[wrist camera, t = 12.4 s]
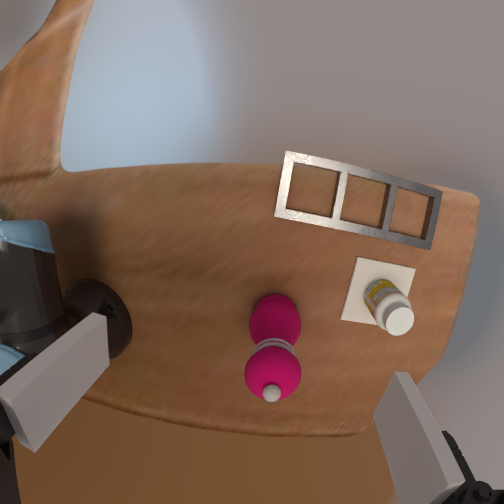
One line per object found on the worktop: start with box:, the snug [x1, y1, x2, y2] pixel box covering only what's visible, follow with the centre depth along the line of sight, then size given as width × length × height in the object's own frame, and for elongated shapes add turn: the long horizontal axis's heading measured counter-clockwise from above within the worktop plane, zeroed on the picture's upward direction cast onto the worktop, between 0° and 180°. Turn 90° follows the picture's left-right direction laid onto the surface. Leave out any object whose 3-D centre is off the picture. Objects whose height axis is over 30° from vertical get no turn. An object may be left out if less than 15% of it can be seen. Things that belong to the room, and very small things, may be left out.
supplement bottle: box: [364, 278, 414, 335], centre depth 38 cm, size 5×5×10 cm
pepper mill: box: [244, 295, 301, 402], centre depth 35 cm, size 7×7×20 cm
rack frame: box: [274, 151, 443, 250], centre depth 39 cm, size 24×9×2 cm, turn 80°
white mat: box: [340, 256, 416, 325], centre depth 43 cm, size 10×10×1 cm
